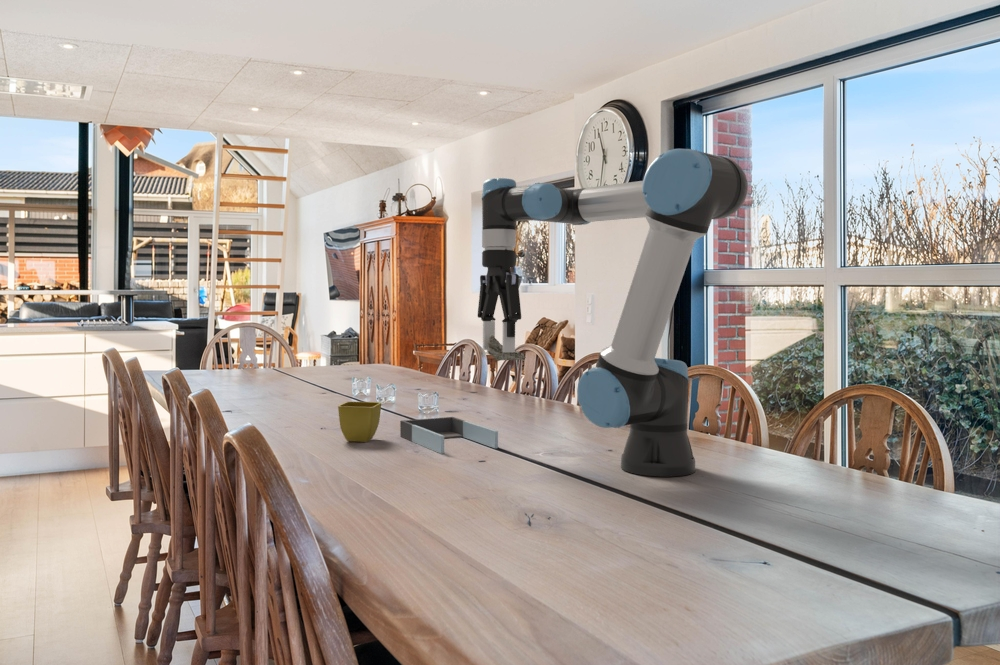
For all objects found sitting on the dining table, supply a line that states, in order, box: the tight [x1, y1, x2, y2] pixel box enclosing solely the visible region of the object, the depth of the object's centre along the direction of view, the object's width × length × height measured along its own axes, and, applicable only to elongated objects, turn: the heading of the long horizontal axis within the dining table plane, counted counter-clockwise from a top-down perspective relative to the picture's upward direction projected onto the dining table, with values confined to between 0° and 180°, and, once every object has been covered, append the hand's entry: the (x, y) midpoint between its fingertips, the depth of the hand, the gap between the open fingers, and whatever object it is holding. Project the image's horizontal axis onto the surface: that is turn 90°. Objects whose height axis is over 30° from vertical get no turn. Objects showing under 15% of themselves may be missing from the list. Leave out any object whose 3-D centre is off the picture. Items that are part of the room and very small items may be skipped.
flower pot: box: [337, 401, 383, 443], centre depth 201 cm, size 9×9×9 cm
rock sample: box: [486, 335, 526, 362], centre depth 184 cm, size 10×8×9 cm
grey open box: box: [399, 416, 466, 442], centre depth 207 cm, size 8×15×4 cm, turn 119°
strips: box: [411, 420, 499, 455], centre depth 196 cm, size 17×15×4 cm
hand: (498, 350), depth 184 cm, fingers closed on rock sample, 9 cm apart
